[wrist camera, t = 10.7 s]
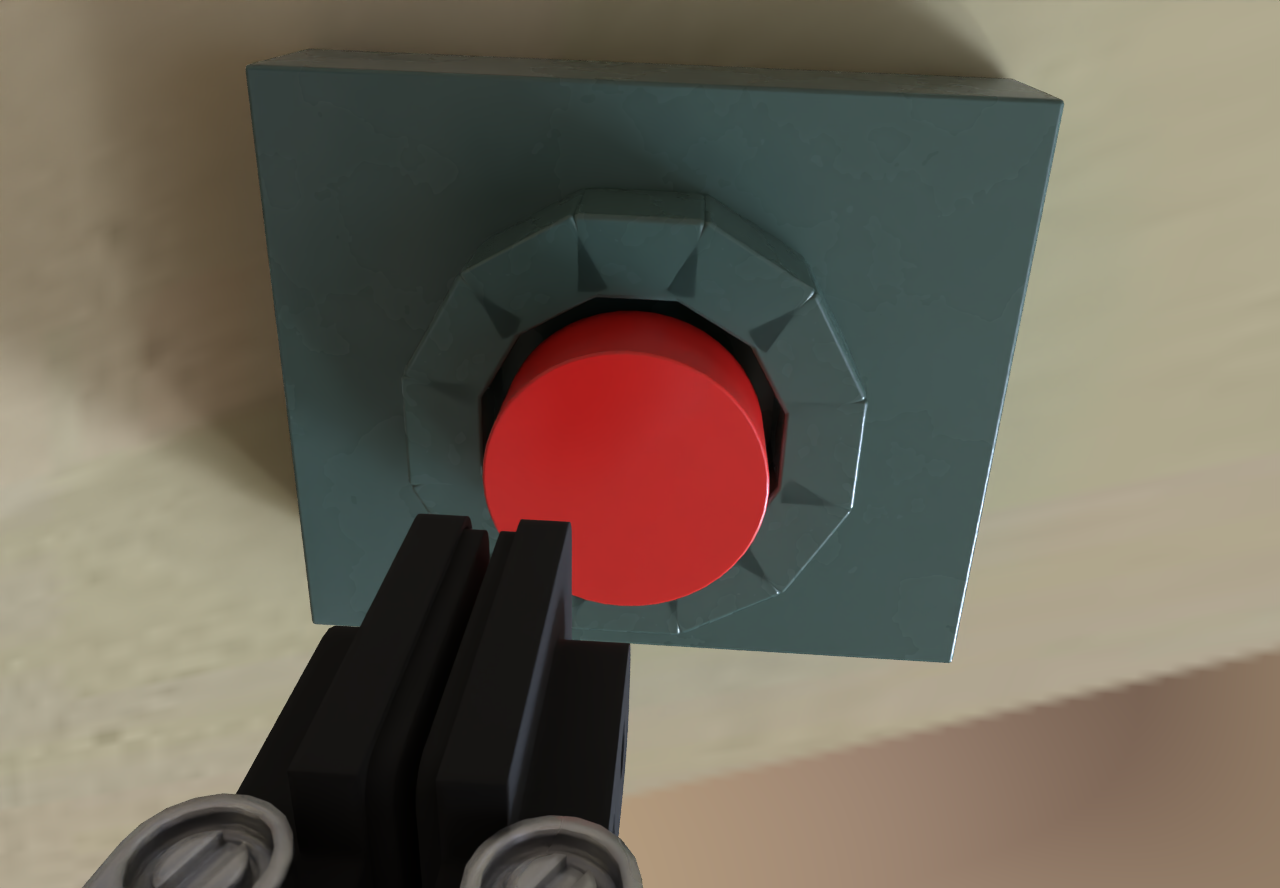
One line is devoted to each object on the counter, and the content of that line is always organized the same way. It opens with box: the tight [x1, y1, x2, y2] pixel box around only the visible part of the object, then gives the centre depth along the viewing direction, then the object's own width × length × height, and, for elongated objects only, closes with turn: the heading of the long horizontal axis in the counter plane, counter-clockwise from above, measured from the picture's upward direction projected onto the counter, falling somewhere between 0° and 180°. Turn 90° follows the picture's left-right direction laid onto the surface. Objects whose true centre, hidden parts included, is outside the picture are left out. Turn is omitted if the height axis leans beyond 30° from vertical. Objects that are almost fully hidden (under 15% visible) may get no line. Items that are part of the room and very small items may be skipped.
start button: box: [482, 311, 770, 606], centre depth 15 cm, size 4×4×2 cm
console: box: [246, 49, 1064, 663], centre depth 18 cm, size 10×12×4 cm
